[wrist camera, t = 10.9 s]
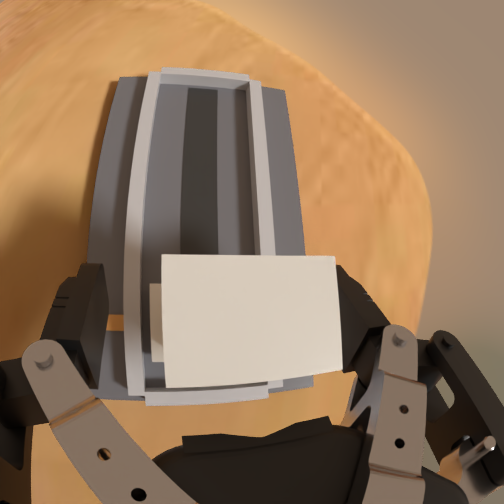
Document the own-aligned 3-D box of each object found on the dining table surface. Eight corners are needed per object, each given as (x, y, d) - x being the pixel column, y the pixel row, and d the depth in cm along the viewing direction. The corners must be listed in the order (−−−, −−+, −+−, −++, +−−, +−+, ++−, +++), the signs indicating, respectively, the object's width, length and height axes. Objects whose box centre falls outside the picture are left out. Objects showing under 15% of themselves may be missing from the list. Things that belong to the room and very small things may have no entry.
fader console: (95, 394, 13) (86, 402, 11) (120, 86, 18) (119, 67, 16) (305, 383, 17) (321, 389, 15) (280, 98, 21) (289, 81, 19)
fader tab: (153, 359, 13) (128, 418, 4) (150, 286, 14) (123, 222, 5) (253, 355, 15) (371, 389, 6) (249, 285, 16) (359, 230, 7)
